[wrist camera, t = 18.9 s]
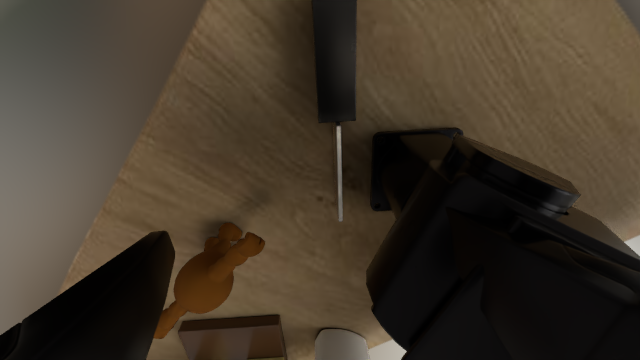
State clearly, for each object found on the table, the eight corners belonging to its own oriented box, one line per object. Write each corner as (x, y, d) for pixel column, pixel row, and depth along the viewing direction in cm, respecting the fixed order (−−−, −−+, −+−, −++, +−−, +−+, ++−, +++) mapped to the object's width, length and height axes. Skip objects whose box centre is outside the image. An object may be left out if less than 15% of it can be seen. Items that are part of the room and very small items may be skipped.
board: (182, 321, 27) (177, 332, 26) (279, 314, 28) (278, 325, 26) (207, 382, 32) (203, 394, 31) (290, 377, 32) (289, 388, 31)
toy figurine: (202, 286, 25) (169, 360, 19) (167, 265, 24) (120, 338, 18) (287, 208, 22) (279, 268, 16) (252, 180, 21) (228, 233, 15)
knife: (311, -1, 16) (311, -13, 13) (351, -4, 16) (360, -15, 13) (322, 201, 22) (324, 222, 19) (351, 200, 22) (357, 220, 19)
